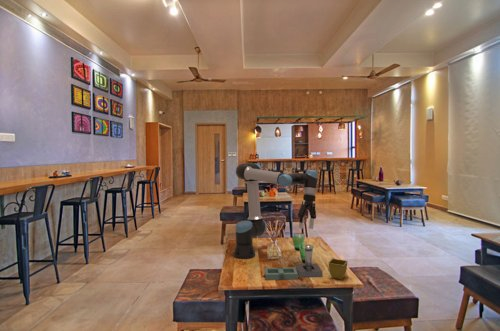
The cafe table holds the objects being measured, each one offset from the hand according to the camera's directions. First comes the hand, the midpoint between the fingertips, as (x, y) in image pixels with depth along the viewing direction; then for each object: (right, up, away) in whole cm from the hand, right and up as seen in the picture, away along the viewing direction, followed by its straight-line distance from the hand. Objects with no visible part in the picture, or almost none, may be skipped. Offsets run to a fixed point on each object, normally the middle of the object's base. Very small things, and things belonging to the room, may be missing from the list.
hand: (306, 228), depth 187 cm
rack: (-17, -24, -14) cm, 33 cm away
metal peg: (0, -24, -10) cm, 26 cm away
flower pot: (+15, -24, -18) cm, 33 cm away
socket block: (0, -24, -10) cm, 26 cm away
